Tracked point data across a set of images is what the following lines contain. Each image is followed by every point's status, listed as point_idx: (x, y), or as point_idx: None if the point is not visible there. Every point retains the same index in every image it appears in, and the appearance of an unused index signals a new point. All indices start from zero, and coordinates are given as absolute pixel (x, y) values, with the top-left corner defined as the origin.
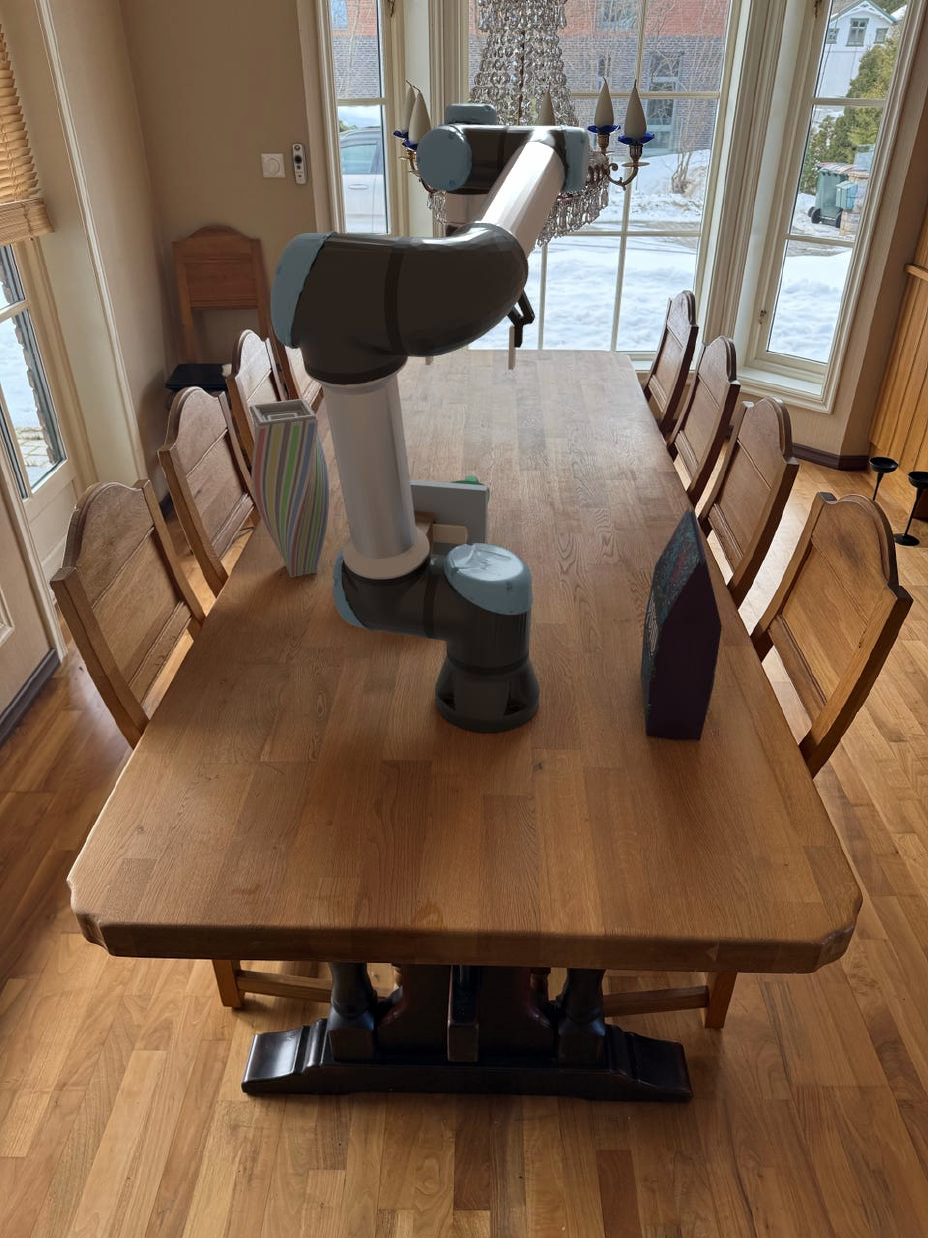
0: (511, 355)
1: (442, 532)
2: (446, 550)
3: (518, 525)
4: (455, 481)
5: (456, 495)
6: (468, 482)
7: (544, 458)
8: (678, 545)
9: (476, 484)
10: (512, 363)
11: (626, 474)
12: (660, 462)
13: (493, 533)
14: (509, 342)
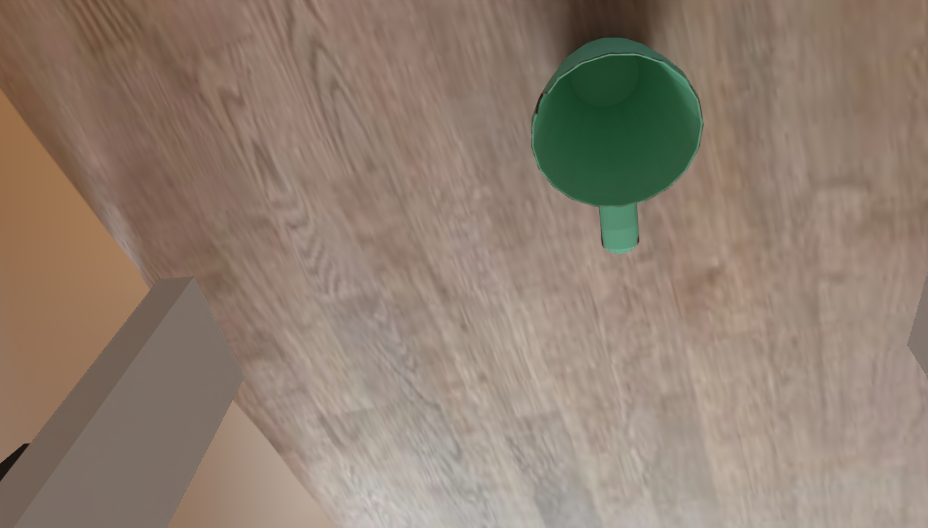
0: (110, 360)
1: None
2: None
3: (484, 179)
4: (659, 191)
5: None
6: (618, 202)
7: (523, 463)
8: None
9: (591, 199)
10: (135, 310)
11: (344, 433)
12: (304, 481)
13: None
14: (52, 459)
